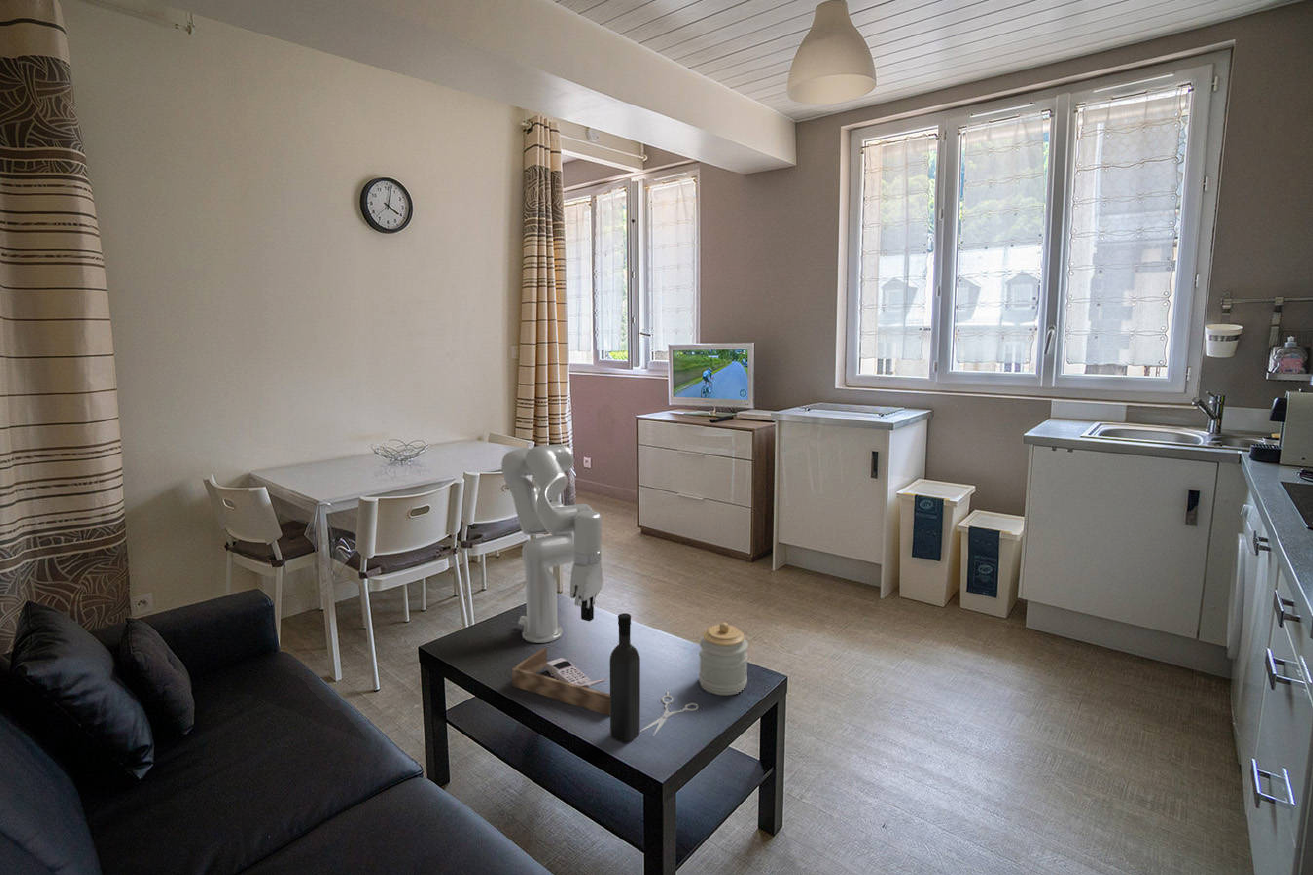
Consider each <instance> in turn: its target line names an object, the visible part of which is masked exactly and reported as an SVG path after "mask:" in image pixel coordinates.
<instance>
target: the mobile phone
mask: <svg viewBox="0 0 1313 875" xmlns="http://www.w3.org/2000/svg"><path fill="white" fill-rule="evenodd" d="M545 667H546V671H548V673H549V675H550V677H553V678H554V679H558V680H561V681H564V682H568V683H571V684H575V685H578V686H582V687H585V688H589V689H590V687H592V686H595V685H597V684H600V683H603V682H606V678H598V679H594V680H591V678H589V677H588V676H587V675H585V673H583V671H581V670H579V668H577V667H576V666H575V665H574V664H572V663H571V662H570V661H568V660H567V659H565V658H563V657H562V658H561V657H560V658H557V659H555V660H552V661H549V662H548V661H547V663H546V666H545Z"/></svg>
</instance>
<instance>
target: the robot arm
mask: <svg viewBox="0 0 1313 875" xmlns="http://www.w3.org/2000/svg"><path fill="white" fill-rule="evenodd" d="M573 464H574V456H573V453H572V451H571V448H569V446H567V445H566V444H563V443H562V444H557V443H556V444H549V445H547V444H546V445H538V446H534V447H532V448H524V449H523V448H522V449H517V450H512V451H509V452H507V453H505V454H504V455H503V457H502V458H501V465H500V467H501V474H502V477H503V479H504V482H505V484H506V486H507V488H508V489H509V492H510V493H511V495H512V498H513V499H512V500H513V503H514V507H515V511H516V515H517V520H518V523H519V526H520V529H521V531H522V533H523V534H524V535H526V536H536V535H543V534H551V535H546V536H540V537H534V538H531V539H529V540H527V541H526V542H525V543H524V544H523V547H522V550H521V554H522V559H523V560H522V561H523V565H524V572H525V589H526V597H525V598H526V615H520V618H519V621H518V625H519V626H523V627H524V629H523V630H522V632H521V634H522V638H523V639H524V640H525V641H527V642H530V643H535V644H536V643H537V644H539V643H541V644H543V643H550V642H554V641H555V640H556V641H557V640H558V639H559V638H561V637H562V636H563V633H564V632H563V627H561V625H559V623H558V583H557V582H558V580H557V579H556V578H557V577H556V576H555V574H553V573H552V571H551V570H550V568H553V567H557V566H560V565H565V564H570V563H572V567H571V572H570V578H569V579H570V581H569V597H570V598H571V599H574V603H573V604H574V606H577V607H580V620H583V621H587V622H591V621H594V618H595V617H594V616H595V614H594V613H595V605H596V598H597V596H598V595H599V594H600V592H601V591H602V590H603V586H604V583H603V581H604V580H603V578H604V576H603V574H604V573H603V572H604V571H603V563H602V532H603V531H602V528H603V527H602V521H603V520H602V515H601V514H600V512H598V511H594V509H593V508H592V507H591V506H590V505H589V504H587V503H577V504H570V505H569V504H568V505H565V504H564V503H562V502H560V501H552V500H554V499H555V498H557V497H558V496H559V495H560V494H562V493H564V491H565V490H566V489H567V486H568V483H569V479H568V476H567V475H566V473H565V472H566V471H569V470H571V468H572V467H573ZM527 476H532V477H533V479H534V481H535V483H536V484H537V485H536V484H535V483H534V482H533V481H532V480H530V479H528V477H527Z"/></svg>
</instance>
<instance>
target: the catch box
mask: <svg viewBox="0 0 1313 875" xmlns="http://www.w3.org/2000/svg"><path fill="white" fill-rule="evenodd" d="M547 652H548V650H547V648H546V647H542V649H540V650H538V651H537V652H535V653H534V654H532V655H530V656H529V657H528V658H526V659H525V660H523V661H522V662H520V663H519V664H518V665H516V666H514V667H513V668H512V669H511V670H512V671H511V672H512V687H515V688H518V689H521V690H523V691H528V692H530V693H535V694H538V695H540V696H544V697H547V698H551V699H553V700H558V701H561V702H565V703H567V704H571V705H574V706H577V707H581V708H584V709H586V710H591V711H593V710H594V711H593V712H597V713H600V714H603V715H607V716H610V693H606V692H602V691H598V690H595V689H592V688H590V687H589V688H585V687H582V686H578V685H575V684H571V683H568V682H564V681H561V680H557V679H556V678H555V677H551V676H546V675H543V674H539V673H537V672H539V671H540V670H541V669H542V670H543V668H544V667H546V663H548V661H547V660H548V659H547V658H548V656H547Z"/></svg>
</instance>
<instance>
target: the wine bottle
mask: <svg viewBox="0 0 1313 875" xmlns="http://www.w3.org/2000/svg"><path fill="white" fill-rule="evenodd" d="M617 620H618V621H617V622H618V623H617V625H618V644H617V645H616V646H615V647H614V649H613V650H611V653H610V656H609V694H610V715H609V736H610V738H612V739H615V740H617V741H619V742H622V743H623V744H624V743H625V744H628V743H630V742H631V741H633V739H635V738H636V737H637V736H639V734H640V733H641V732H640V731H641V730H640V717H641V716H640V714H641V713H640V708H641V707H640V699H641V698H640V691H641V690H640V688H641V683H640V680H641V674H640V673H641V672H640V671H641V670H640V669H641V668H640V666H641V665H640V664H641V662H640V660H641V659H640V654H639V651H638V649H637V648H636V647H635V646H634V645H632V643H631V641H632V640H631V631H632V630H631V628H632V627H631V625H632V615H631V614H630V613H620V614H619V615H617Z"/></svg>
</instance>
